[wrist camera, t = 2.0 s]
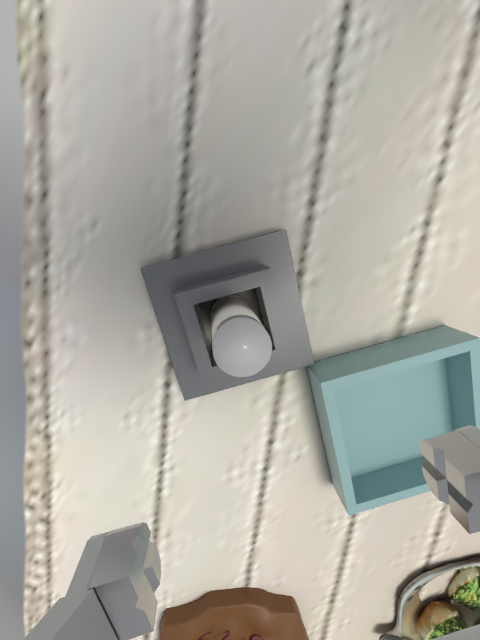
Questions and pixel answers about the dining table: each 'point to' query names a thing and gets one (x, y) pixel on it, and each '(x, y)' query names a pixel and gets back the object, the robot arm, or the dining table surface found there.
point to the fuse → (238, 337)
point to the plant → (235, 617)
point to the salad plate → (439, 604)
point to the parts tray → (393, 411)
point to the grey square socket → (222, 280)
